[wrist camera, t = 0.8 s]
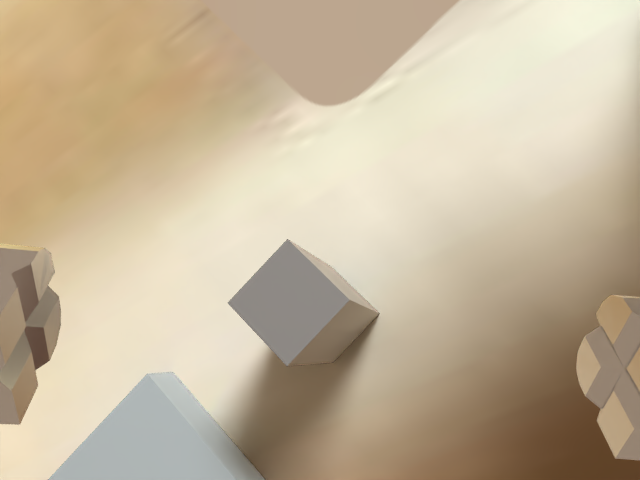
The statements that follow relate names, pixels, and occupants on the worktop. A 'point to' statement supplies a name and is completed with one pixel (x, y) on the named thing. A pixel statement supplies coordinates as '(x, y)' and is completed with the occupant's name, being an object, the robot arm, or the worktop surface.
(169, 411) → the painted riser
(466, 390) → the worktop surface
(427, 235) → the worktop surface
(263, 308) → the tall taupe square pillar
